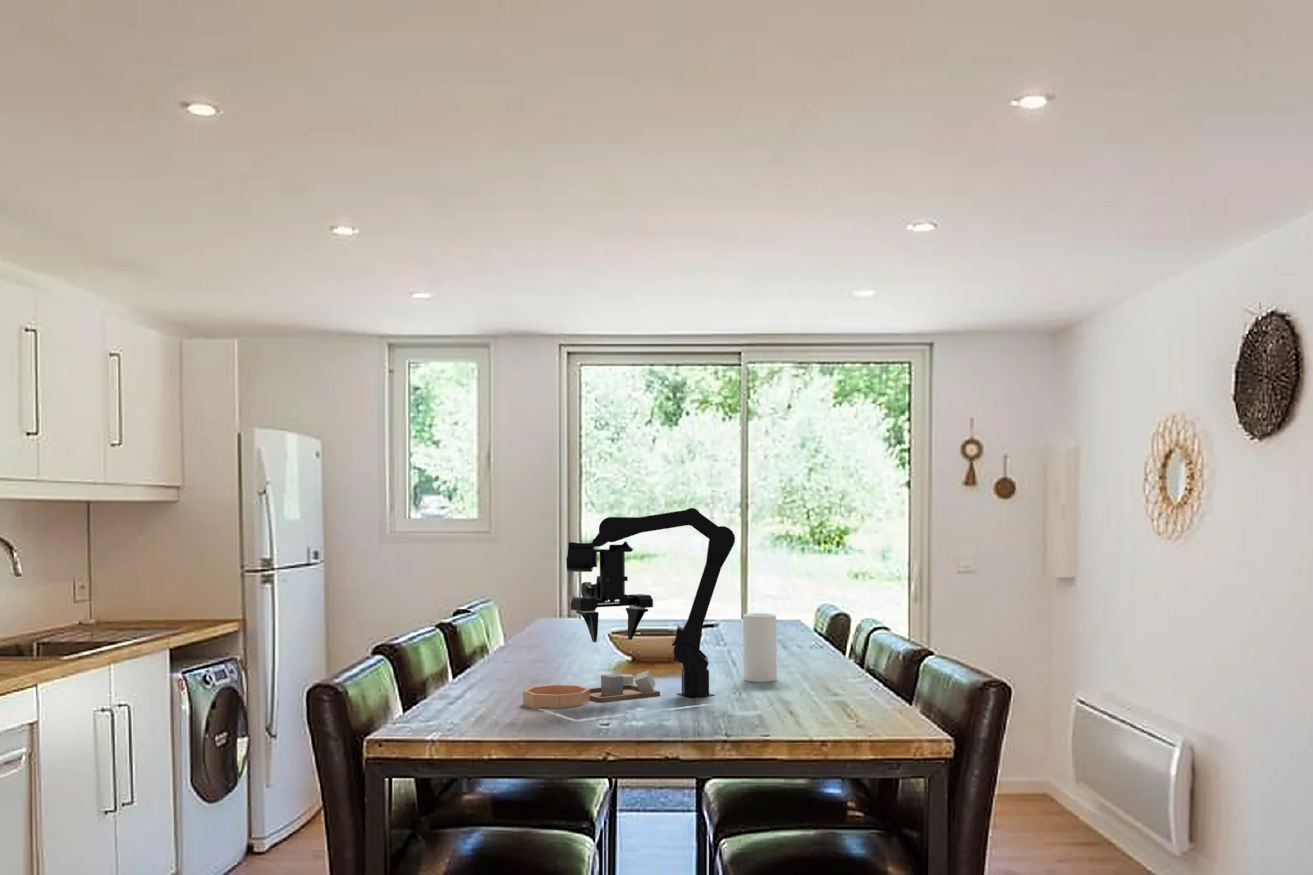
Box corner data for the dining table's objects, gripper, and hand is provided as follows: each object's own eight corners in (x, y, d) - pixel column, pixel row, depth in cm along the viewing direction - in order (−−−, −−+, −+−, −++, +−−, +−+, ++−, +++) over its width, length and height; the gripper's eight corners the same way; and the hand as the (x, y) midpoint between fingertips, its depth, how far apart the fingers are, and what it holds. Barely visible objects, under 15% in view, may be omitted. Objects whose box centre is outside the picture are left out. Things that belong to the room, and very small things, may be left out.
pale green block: (633, 676, 254) (633, 688, 254) (631, 674, 258) (631, 686, 258) (619, 677, 254) (619, 689, 254) (618, 674, 258) (618, 686, 258)
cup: (740, 681, 264) (739, 615, 265) (747, 676, 272) (746, 612, 273) (773, 682, 261) (772, 616, 262) (779, 677, 269) (778, 613, 270)
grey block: (623, 695, 240) (623, 676, 241) (610, 697, 238) (610, 677, 239) (614, 693, 244) (614, 673, 244) (601, 694, 242) (601, 675, 242)
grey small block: (643, 687, 245) (655, 683, 245) (641, 694, 243) (653, 690, 242) (637, 674, 245) (648, 670, 244) (634, 680, 242) (646, 676, 241)
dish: (599, 705, 231) (599, 691, 232) (542, 711, 224) (542, 697, 224) (569, 696, 243) (569, 683, 243) (515, 702, 235) (515, 688, 236)
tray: (659, 697, 240) (659, 691, 241) (599, 704, 232) (599, 698, 232) (630, 690, 251) (630, 684, 251) (572, 696, 243) (572, 690, 243)
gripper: (630, 569, 256) (630, 635, 254) (559, 571, 246) (559, 640, 245) (654, 571, 246) (654, 639, 245) (582, 573, 236) (582, 645, 235)
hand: (612, 640), depth 243 cm, fingers open, 9 cm apart
